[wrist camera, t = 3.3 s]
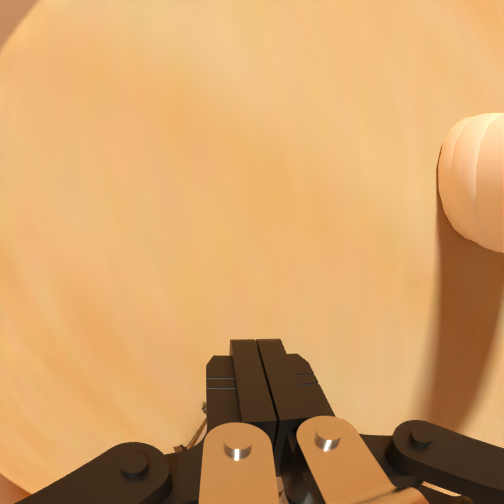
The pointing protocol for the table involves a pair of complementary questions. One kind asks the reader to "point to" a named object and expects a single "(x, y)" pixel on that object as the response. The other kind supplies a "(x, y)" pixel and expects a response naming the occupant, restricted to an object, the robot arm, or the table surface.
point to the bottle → (475, 179)
